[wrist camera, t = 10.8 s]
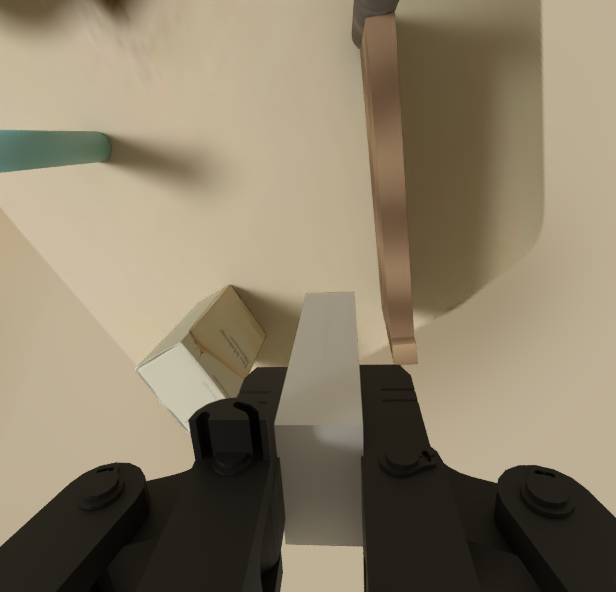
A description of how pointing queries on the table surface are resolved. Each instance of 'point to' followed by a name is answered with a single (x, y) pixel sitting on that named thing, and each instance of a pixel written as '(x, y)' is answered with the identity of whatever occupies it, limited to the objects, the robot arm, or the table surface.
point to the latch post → (50, 149)
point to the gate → (387, 168)
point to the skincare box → (203, 356)
